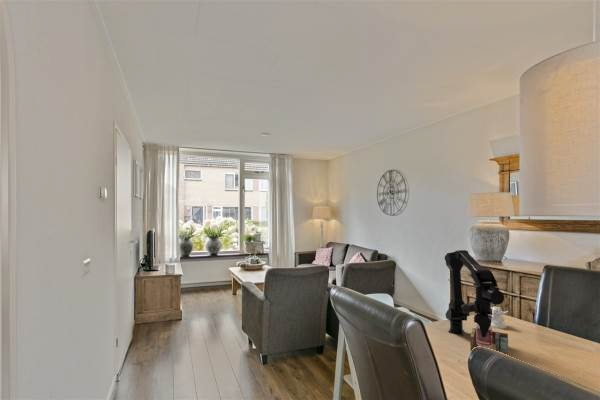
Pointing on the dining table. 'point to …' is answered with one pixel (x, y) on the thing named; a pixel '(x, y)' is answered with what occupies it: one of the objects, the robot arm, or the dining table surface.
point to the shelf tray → (497, 338)
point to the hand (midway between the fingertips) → (484, 334)
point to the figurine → (497, 317)
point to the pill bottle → (484, 338)
